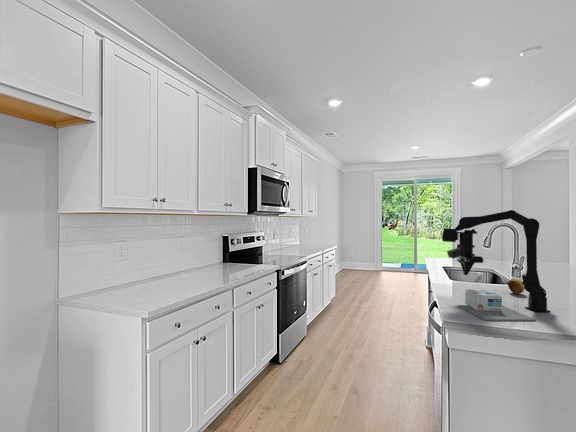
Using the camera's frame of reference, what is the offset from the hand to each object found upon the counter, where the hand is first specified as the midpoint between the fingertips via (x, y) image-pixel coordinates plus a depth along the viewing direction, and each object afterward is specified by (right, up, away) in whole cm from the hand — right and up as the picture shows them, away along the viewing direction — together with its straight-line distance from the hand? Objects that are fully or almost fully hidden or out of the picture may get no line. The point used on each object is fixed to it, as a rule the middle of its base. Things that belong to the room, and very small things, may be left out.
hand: (465, 275), depth 159 cm
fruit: (+34, -12, +14) cm, 38 cm away
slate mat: (0, -12, -21) cm, 25 cm away
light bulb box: (0, -8, -10) cm, 13 cm away
